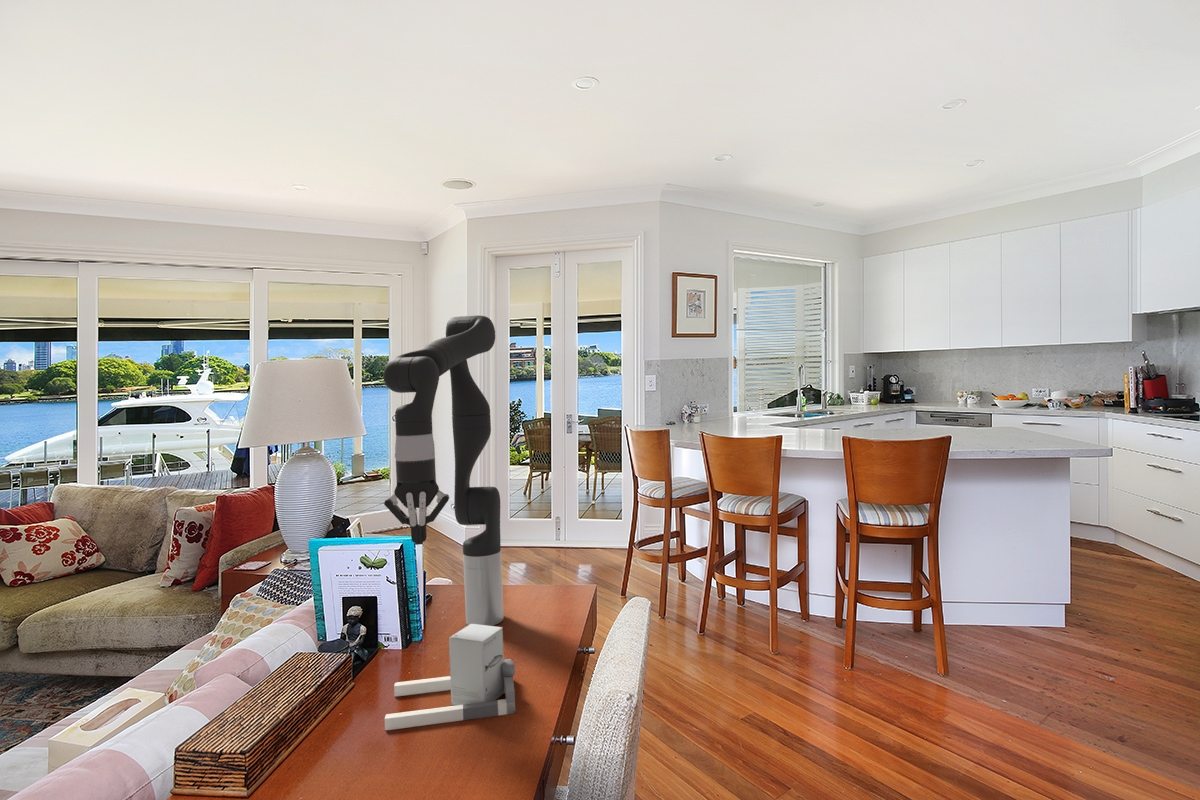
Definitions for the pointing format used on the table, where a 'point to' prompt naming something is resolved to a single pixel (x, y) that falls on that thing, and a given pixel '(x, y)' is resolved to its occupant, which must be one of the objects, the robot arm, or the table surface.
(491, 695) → the supplement box
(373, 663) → the table surface
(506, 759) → the table surface
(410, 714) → the guide channel
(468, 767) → the table surface
